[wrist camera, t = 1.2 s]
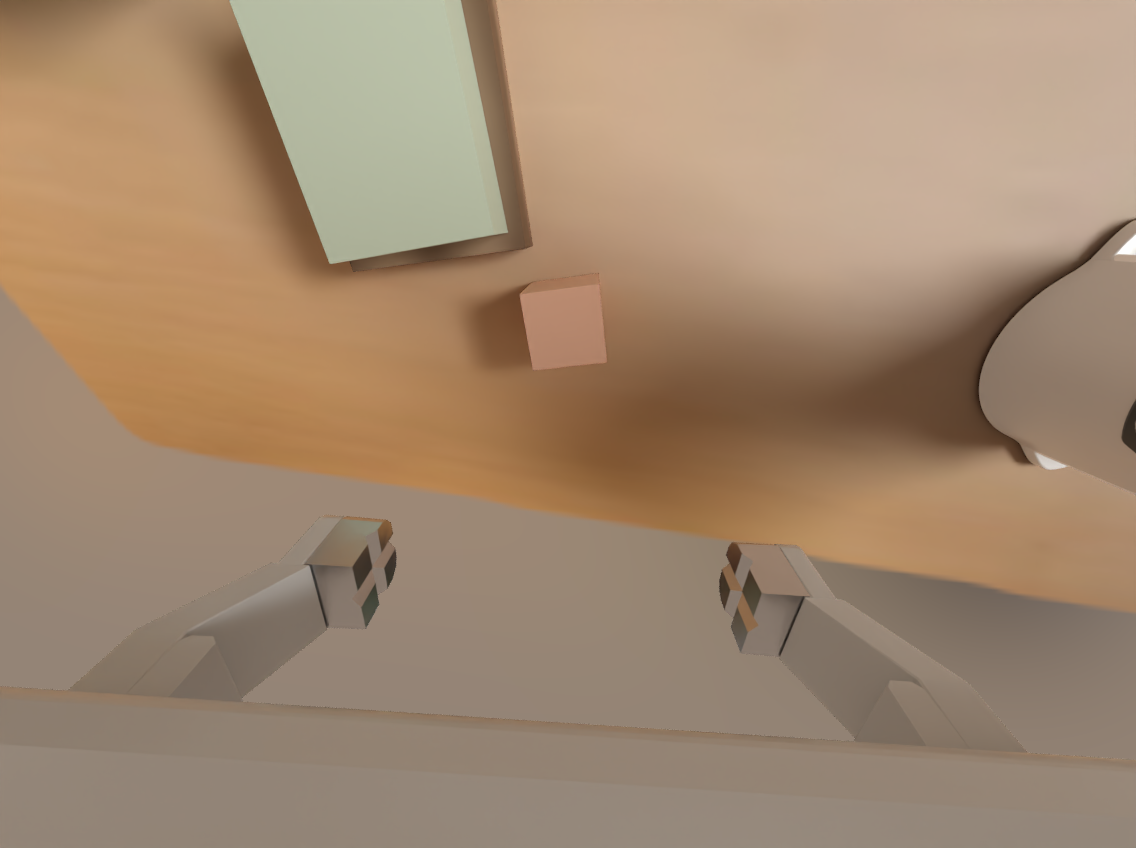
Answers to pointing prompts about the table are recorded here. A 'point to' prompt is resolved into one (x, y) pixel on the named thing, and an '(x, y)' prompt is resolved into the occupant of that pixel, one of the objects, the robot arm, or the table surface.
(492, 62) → the tower base
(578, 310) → the block
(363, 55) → the tower top
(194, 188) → the table surface
